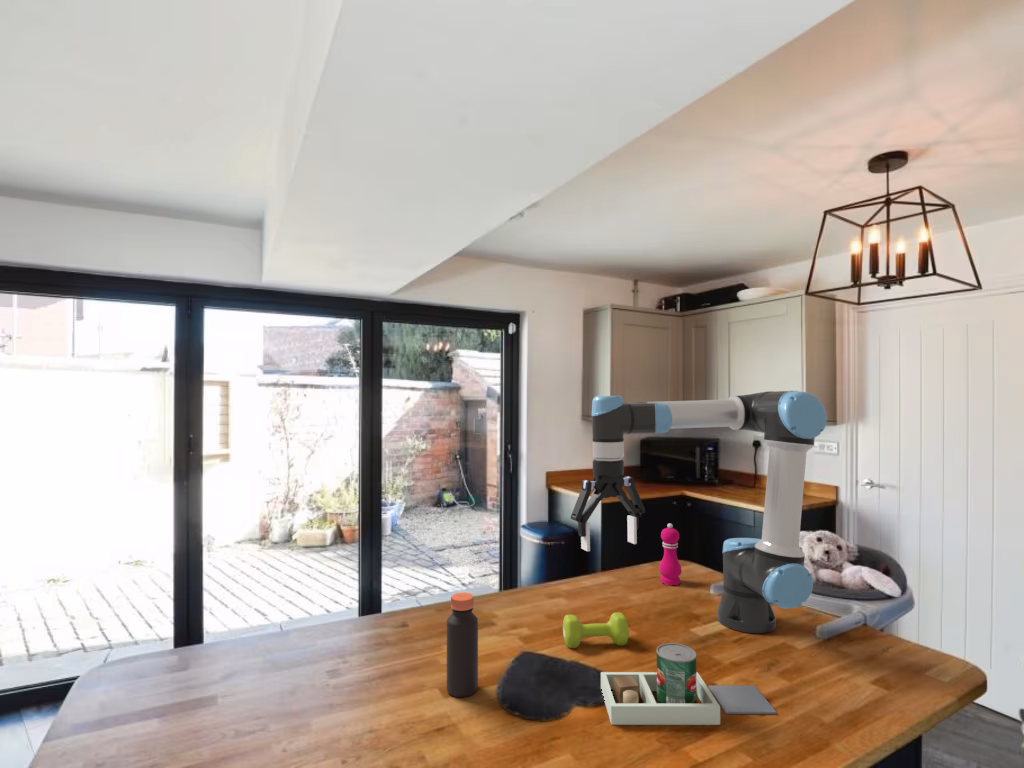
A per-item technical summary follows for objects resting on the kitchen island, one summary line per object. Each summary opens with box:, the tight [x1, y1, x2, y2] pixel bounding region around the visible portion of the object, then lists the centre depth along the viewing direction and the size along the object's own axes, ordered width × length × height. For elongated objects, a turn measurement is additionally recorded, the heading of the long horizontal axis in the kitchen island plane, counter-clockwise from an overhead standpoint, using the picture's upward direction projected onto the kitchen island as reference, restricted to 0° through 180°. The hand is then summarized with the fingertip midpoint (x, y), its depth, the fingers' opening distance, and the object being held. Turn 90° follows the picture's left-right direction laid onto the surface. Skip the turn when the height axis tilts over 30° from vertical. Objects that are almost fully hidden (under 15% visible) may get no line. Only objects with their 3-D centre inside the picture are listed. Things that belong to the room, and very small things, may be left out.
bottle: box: [446, 592, 479, 698], centre depth 118 cm, size 7×7×20 cm
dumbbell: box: [562, 611, 630, 649], centre depth 140 cm, size 16×8×7 cm, turn 96°
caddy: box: [600, 671, 721, 726], centre depth 112 cm, size 21×13×4 cm, turn 90°
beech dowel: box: [623, 690, 638, 703], centre depth 109 cm, size 3×3×4 cm
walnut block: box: [612, 676, 640, 703], centre depth 114 cm, size 4×4×4 cm
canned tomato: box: [656, 642, 698, 703], centre depth 112 cm, size 8×8×11 cm
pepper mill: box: [658, 523, 682, 586], centre depth 185 cm, size 7×7×20 cm
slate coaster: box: [707, 684, 778, 715], centre depth 114 cm, size 10×10×1 cm
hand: (609, 546), depth 133 cm, fingers open, 13 cm apart
